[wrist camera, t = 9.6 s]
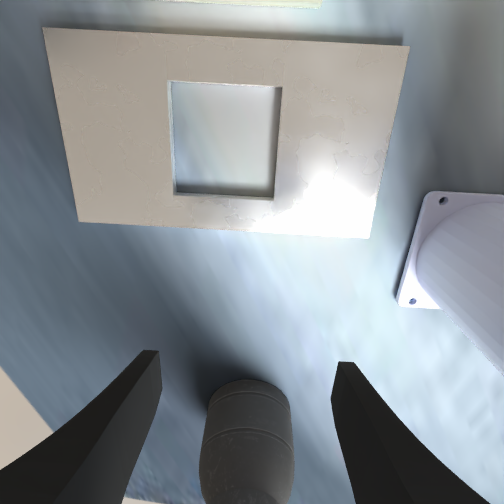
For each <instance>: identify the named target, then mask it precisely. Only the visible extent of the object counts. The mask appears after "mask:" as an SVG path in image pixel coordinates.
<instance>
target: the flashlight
mask: <svg viewBox="0 0 504 504" xmlns="http://www.w3.org/2000/svg"><path fill="white" fill-rule="evenodd" d="M199 477H200V484H201V491H202V496H203V498H204V500H205V502H206V504H287V502H288V500H289V497H290V494H291V490H292V485H293V481H294V447H293V436H292V424H291V413H290V406H289V402H288V400H287V398H286V396H285V395H284V394H283V393H282V392H281V391H280V390H279V389H277V388H276V387H275V386H273V385H271V384H268V383H266V382H262V381H258V380H238V381H233V382H230V383H227V384H225V385H224V386H222V387H220V388H219V389H218V390H216V391H215V393H214V394H213V395H212V397H211V399H210V401H209V406H208V412H207V417H206V423H205V429H204V435H203V441H202V447H201V453H200V461H199Z"/></svg>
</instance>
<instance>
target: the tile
mask: <svg viewBox="0 0 504 504" xmlns="http://www.w3.org/2000/svg"><path fill="white" fill-rule="evenodd" d="M157 1H177V2H196V3H216V4H236V5H255V6H275V7H294V8H314V9H319V8H320V6H321V4H322V0H157Z"/></svg>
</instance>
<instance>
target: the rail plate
mask: <svg viewBox="0 0 504 504" xmlns="http://www.w3.org/2000/svg"><path fill="white" fill-rule="evenodd" d="M42 29H43V35H44V40H45V45H46V51H47V56H48V61H49V66H50V72H51V77H52V82H53V87H54V93H55V98H56V103H57V109H58V114H59V119H60V124H61V130H62V135H63V140H64V145H65V151H66V156H67V161H68V167H69V172H70V177H71V182H72V188H73V193H74V198H75V203H76V209H77V214H78V219H79V222H92V223H110V224H127V225H145V226H163V227H181V228H199V229H217V230H234V231H252V232H270V233H288V234H306V235H324V236H342V237H359V238H369V233H370V228H371V224H372V219H373V215H374V210H375V205H376V201H377V196H378V192H379V187H380V183H381V178H382V173H383V169H384V164H385V160H386V155H387V151H388V146H389V141H390V137H391V132H392V128H393V123H394V118H395V114H396V109H397V105H398V100H399V96H400V91H401V86H402V82H403V77H404V73H405V68H406V63H407V59H408V54H409V50H410V46H395V45H375V44H356V43H337V42H317V41H298V40H279V39H259V38H240V37H221V36H201V35H182V34H163V33H143V32H124V31H105V30H85V29H66V28H47V27H42ZM171 82H182V83H201V84H220V85H239V86H258V87H277V88H282V97H281V109H280V122H279V135H278V147H277V160H276V173H275V186H274V198H270V197H252V196H234V195H216V194H198V193H180V192H177V189H176V170H175V150H174V131H173V111H172V92H171Z"/></svg>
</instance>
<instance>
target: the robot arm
mask: <svg viewBox="0 0 504 504" xmlns="http://www.w3.org/2000/svg"><path fill="white" fill-rule="evenodd" d="M442 197H445V200H444V202H442V203H441V204H439V200H440V199H441V198H442ZM412 298H414V299H413V301H410V302H409V300H410V299H412ZM396 302H397V303H398V305H400V306H402V307H414V308H432V309H442V311H443V312H444V313H445V314H446V315H447V316H448V317H449V318H450V319H451V320H452V321H453V322H454V323H455V324H456V326H457V327H458V328H459V329H460V330H461V331H462V332H463V333H464V334H465V335H466V336H467V337H468V338H469V339H470V341H471V342H472V343H473V344H474V345H475V346H476V347H477V348H478V349H479V350H480V351H481V352H482V353H483V354H484V356H485V357H486V358H487V359H488V360H489V361H490V362H491V363H492V364H493V365H494V366H495V367H496V368H497V369H498V371H499V372H500V373H501V374H502V375H503V376H504V195H499V194H481V193H463V192H445V191H431V192H429V193H428V194H427V195H426V196H425V198H424V200H423V204H422V207H421V211H420V214H419V218H418V221H417V225H416V229H415V232H414V236H413V239H412V243H411V246H410V250H409V253H408V257H407V261H406V264H405V268H404V271H403V275H402V278H401V282H400V285H399V289H398V292H397V296H396ZM161 392H162V379H161V369H160V359H159V351H153V350H143V351H142V352H141V353H140V354H139V355H138V356H137V357H136V358H135V359H134V360H133V361H132V362H131V363H130V364H129V365H128V366H127V367H126V368H125V369H124V370H123V371H122V372H121V373H120V375H119V376H118V377H117V378H116V379H114V380H113V381H112V382H111V383H110V384H109V385H108V386H107V387H106V388H105V389H104V390H103V391H102V392H101V393H100V394H99V395H98V396H97V397H96V398H95V399H93V400H92V401H91V402H90V403H89V404H88V405H87V406H86V407H85V408H83V409H82V410H81V411H80V412H79V413H78V414H76V415H75V416H74V417H73V418H72V419H71V420H69V421H68V422H67V423H66V424H64V425H63V426H62V427H61V428H59V429H58V430H57V431H55V432H54V433H53V434H52V435H50V436H49V437H48V438H46V439H45V440H43V441H42V442H41V443H39V444H38V445H36V446H35V447H34V448H32V449H31V450H29V451H28V452H27V453H25V454H24V455H22V456H21V457H19V458H18V459H16V460H15V461H14V462H12V463H10V464H9V465H8V466H6V467H4V468H3V469H1V470H0V504H121V503H122V500H123V497H124V494H125V491H126V488H127V485H128V482H129V479H130V477H131V474H132V471H133V469H134V467H135V464H136V462H137V459H138V457H139V454H140V452H141V449H142V447H143V444H144V442H145V439H146V437H147V434H148V432H149V429H150V427H151V424H152V421H153V419H154V416H155V413H156V410H157V406H158V403H159V399H160V395H161ZM331 404H332V411H333V417H334V423H335V428H336V431H337V435H338V439H339V443H340V446H341V450H342V453H343V457H344V461H345V464H346V468H347V471H348V475H349V479H350V482H351V486H352V490H353V494H354V498H355V502H356V504H490V503H489V502H487V501H486V500H485V499H484V498H483V497H481V496H480V495H479V494H478V493H476V492H475V491H474V490H473V489H472V488H470V487H469V486H468V485H467V484H466V483H465V482H463V481H462V480H461V479H460V478H459V477H458V476H457V475H455V474H454V473H453V472H452V471H451V470H450V469H449V468H447V467H446V466H445V465H444V464H443V463H442V462H441V461H440V460H439V459H438V458H437V457H436V456H435V455H434V454H433V453H432V452H431V451H429V450H428V449H427V448H426V447H425V446H424V445H423V444H422V443H421V442H420V441H419V440H418V439H417V438H416V436H415V435H414V434H413V433H412V432H411V431H410V430H409V429H408V428H407V427H406V426H405V425H404V423H403V422H402V421H401V420H400V419H399V418H398V417H397V416H396V414H395V413H394V412H393V411H392V410H391V408H390V407H389V406H388V405H387V404H386V402H385V401H384V400H383V399H382V398H381V396H380V395H379V394H378V393H377V391H376V390H375V389H374V388H373V386H372V385H371V384H370V382H369V381H368V380H367V379H366V377H365V376H364V375H363V373H362V372H361V371H360V369H359V368H358V367H357V365H356V364H355V363H354V362H340V361H339V362H338V366H337V371H336V376H335V380H334V385H333V390H332V394H331Z"/></svg>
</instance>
